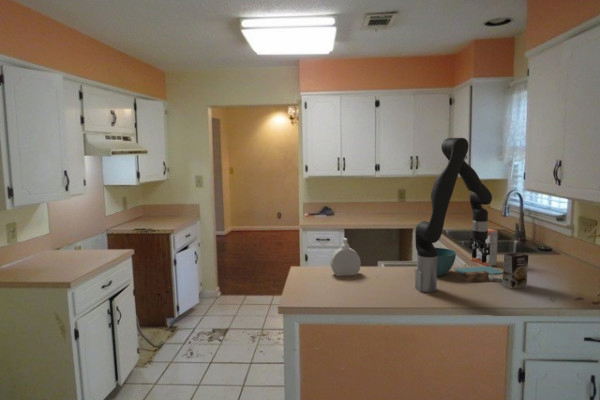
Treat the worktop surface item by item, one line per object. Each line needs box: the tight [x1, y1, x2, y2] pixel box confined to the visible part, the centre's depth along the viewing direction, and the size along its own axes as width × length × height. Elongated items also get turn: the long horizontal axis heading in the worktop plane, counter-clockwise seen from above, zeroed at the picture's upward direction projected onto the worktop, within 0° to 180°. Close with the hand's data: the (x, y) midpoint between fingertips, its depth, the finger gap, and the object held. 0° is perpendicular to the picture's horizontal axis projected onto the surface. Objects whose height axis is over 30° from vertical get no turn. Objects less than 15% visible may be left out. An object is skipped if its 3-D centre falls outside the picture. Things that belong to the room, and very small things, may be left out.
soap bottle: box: [329, 237, 362, 277], centre depth 217 cm, size 16×5×20 cm, turn 97°
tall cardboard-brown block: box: [463, 271, 503, 283], centre depth 205 cm, size 18×7×4 cm, turn 98°
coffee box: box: [502, 252, 529, 290], centre depth 194 cm, size 9×6×16 cm
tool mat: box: [453, 266, 503, 276], centre depth 218 cm, size 22×12×1 cm, turn 98°
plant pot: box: [435, 247, 457, 277], centre depth 216 cm, size 18×18×12 cm
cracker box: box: [471, 227, 499, 267], centre depth 232 cm, size 14×6×21 cm, turn 17°
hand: (479, 260), depth 204 cm, fingers open, 8 cm apart
